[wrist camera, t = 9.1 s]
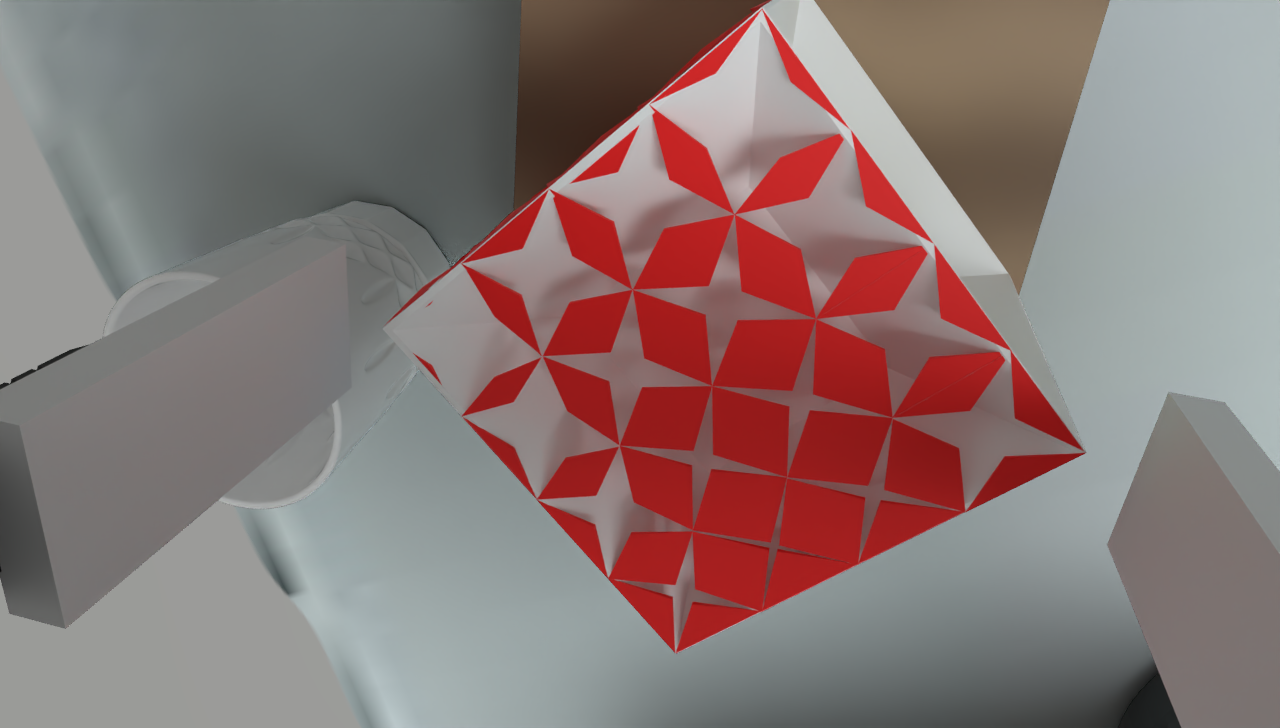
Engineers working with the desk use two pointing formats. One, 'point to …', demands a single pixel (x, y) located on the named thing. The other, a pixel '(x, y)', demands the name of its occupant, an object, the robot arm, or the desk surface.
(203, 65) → the desk surface
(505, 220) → the red white patterned cube
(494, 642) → the desk surface
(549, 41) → the walnut pedestal
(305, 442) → the white cup
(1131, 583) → the robot arm
